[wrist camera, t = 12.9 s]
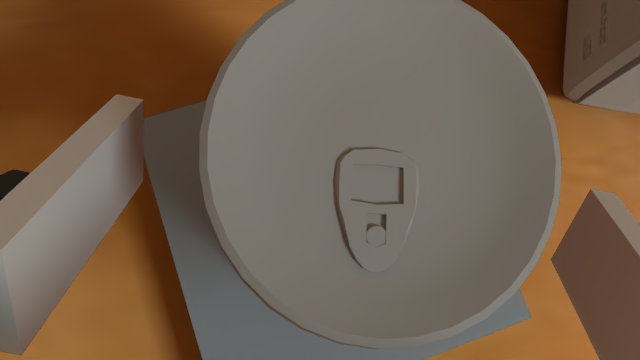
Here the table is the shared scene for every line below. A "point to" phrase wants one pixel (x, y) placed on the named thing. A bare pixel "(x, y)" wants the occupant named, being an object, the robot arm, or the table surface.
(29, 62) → the table surface
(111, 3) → the table surface
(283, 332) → the stand
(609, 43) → the stereo radio cassette player
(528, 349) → the table surface
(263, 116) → the canned food
